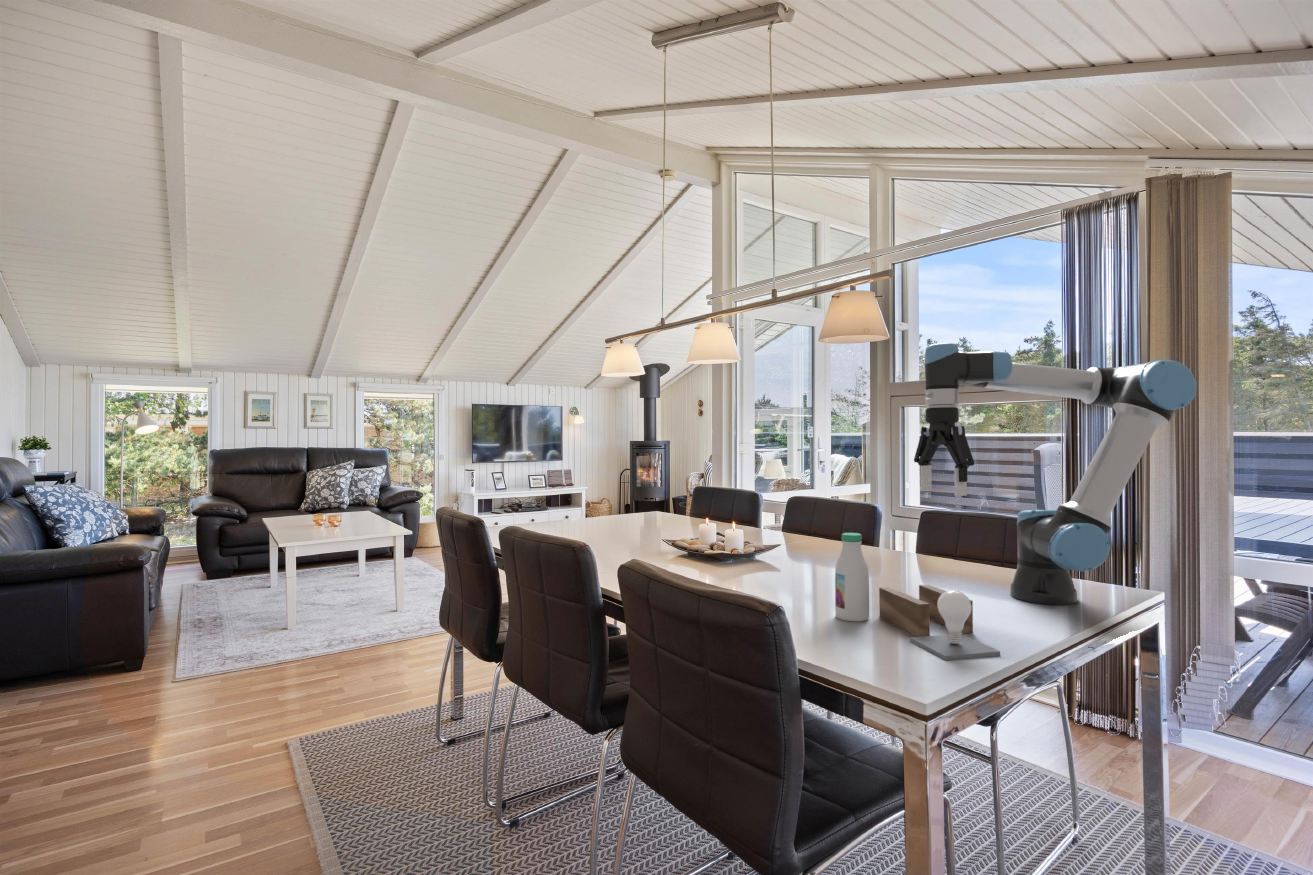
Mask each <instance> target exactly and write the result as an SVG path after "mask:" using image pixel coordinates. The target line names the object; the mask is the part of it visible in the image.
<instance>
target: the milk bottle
mask: <svg viewBox="0 0 1313 875" xmlns="http://www.w3.org/2000/svg"><path fill="white" fill-rule="evenodd" d="M862 539H863V536H862V534H861V533H858V532H844V533H842V534H841V543H842V547H841V552H840V554H839V556H838V558H837V560H836V563H835V570H834V571H835V573H834V574H835V575H834V577H835V578H834V580H835V581H834V582H835V583H834V587H835V588H834V590H835V594H834V595H835V597H834V598H835V600H834V601H835V604H834V605H835V608H834V609H835V616H836V618H837V619H839V620H842V621H846V622H865V621H867V620H869V618H870V572H869V566H868V563H867V560H866V558H865V555H864V553H863V550H862V545H861V544H862V542H863V541H862Z"/></svg>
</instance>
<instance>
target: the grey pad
mask: <svg viewBox="0 0 1313 875" xmlns="http://www.w3.org/2000/svg"><path fill="white" fill-rule="evenodd" d="M947 635H948V634H939V635H938V634H936V635H930V636H922V637H918V636H914V637H913V636H911V637H909V642H911V643H912V644H914V645H916V646H918V647H920V648H921V649H924V650H925V651H927V652H929V653H931V654H932V655H935V656H936V657H939V658H941V659H942V660H945V661H954V660H956V661H957V660H966V659H975V658H976V659H977V658H988V657H996V656H997V657H998V656H1001V651H1000V650H998V649H996V648H994V647H992V646H989V645H987V644H985V643H982V642H980V641H979V640H976V639H974V638H971V636H967V635H965V634H961V635H962V636H961V637H962V643H960V644H958V645H952V644H951V643H949V642H948V641H947V639H948V638H947V637H948V636H947Z"/></svg>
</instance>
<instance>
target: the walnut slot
mask: <svg viewBox="0 0 1313 875" xmlns="http://www.w3.org/2000/svg"><path fill="white" fill-rule="evenodd" d="M946 591H947V590H944V589H942V588H939V587H937V586H934V585H931V584H919V585H918V598H916V597H914V596H912V595H910V594H907V593H905V592H902V591H899V590H896V589H894V588H893V587H890V586H884V587H879V590H878V592H879V594H878V596H879V597H878V598H879V603H878V604H879V618H881V619H883V620H884V621H887V622H889V623H890V624H892V625H894V626H896V627H898V628H900V629H903V630H904V631H906V632H909V633H910V634H912V635H914V636H915V637H922V636H931V634H930V632H931V629H930V626H931V625H930V620H931V621H934V622H936V623H938V624H941V625H942V626H944V627H946V625H945V621H944V619H943V618H942V616H941V615H940V613H939V611H938V607H937V602H938V599H939V597H940V595H941V594H942V593H944V592H946ZM969 600H970V602H971V606H972V610H971V614H970V616H969V617H968V618H967V620H966V621H965V623H964V627H963V630H962V634H963V635H965V634H973V633H974V628H973V627H974V621H973V620H974V617H973V615H974V614H973V613H974V612H973V610H974V609H973V607H974V606H973V605H974V604H973V600H971V599H969Z"/></svg>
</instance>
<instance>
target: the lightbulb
mask: <svg viewBox="0 0 1313 875" xmlns="http://www.w3.org/2000/svg"><path fill="white" fill-rule="evenodd" d="M945 591H946V592H944V593H942V594H941V595H940V597H939V599H938V602H937V607H938V611H939V613H940V615H941V616H942V618H943V619H944V621H945V625H946V626H945V625H944V626H945V628H946V629H947V630H946V632H947V634H948V635H947V636H948V637H947V638H948V639H947V641H948V642H949V643H951V644H952V645H958V644H960V643H962V637H961V636H962V635H961V634H962V630H963V627H964V623H965V621H966V620H967V618H968V617H969V616H970V614H971V610H972V606H971V602H970V600H971V599H970V598H969V597H968V596H967V595H966V594H965V593H963V592H962V591H960V590H956V589H955V590H954V589H950V590H945Z"/></svg>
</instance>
